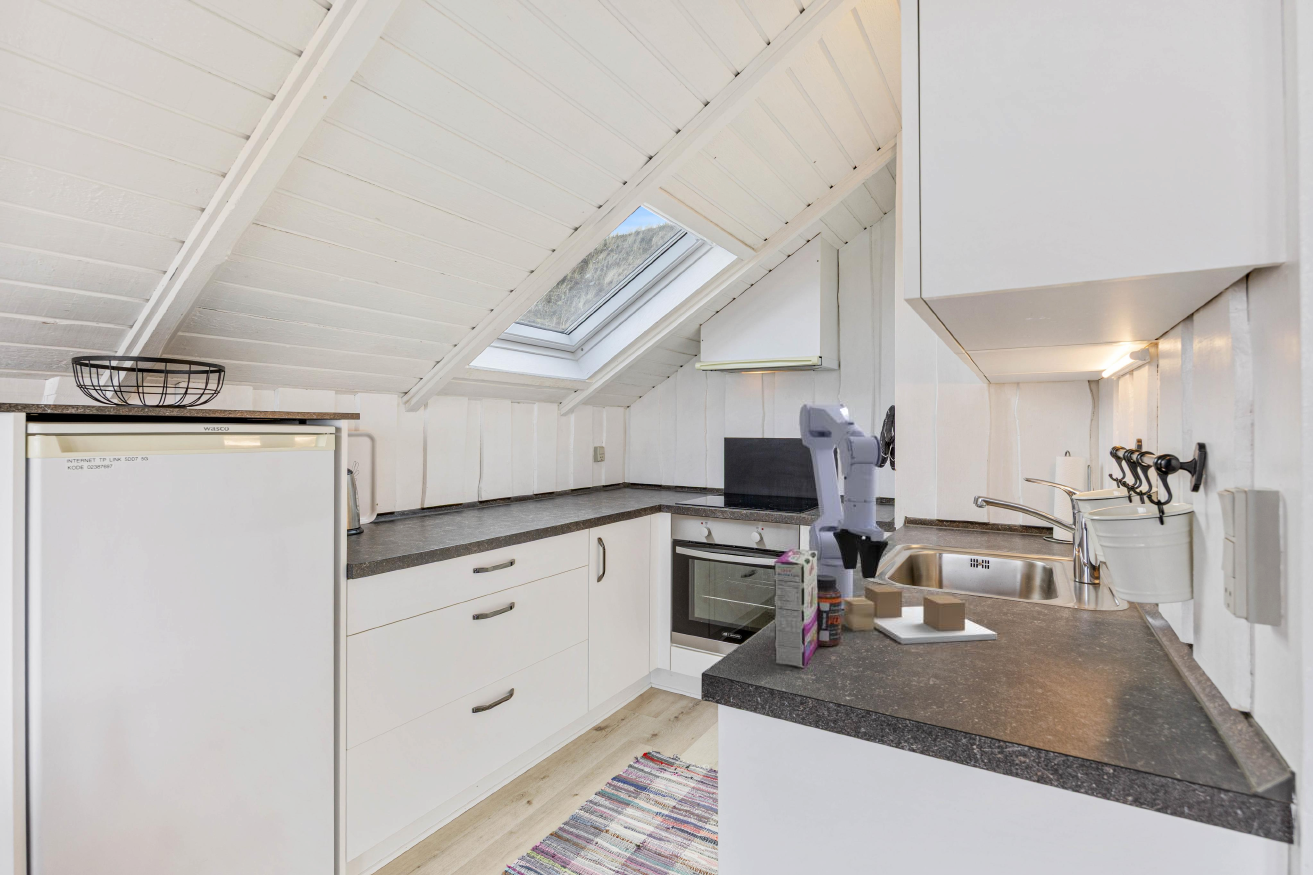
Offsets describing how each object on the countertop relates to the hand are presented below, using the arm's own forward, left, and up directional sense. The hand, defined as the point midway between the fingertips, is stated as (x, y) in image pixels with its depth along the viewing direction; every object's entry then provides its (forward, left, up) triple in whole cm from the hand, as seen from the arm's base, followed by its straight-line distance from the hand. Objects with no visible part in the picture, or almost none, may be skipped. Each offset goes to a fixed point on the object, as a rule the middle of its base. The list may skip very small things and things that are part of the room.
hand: (859, 573), depth 119 cm
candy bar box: (+13, -17, -10) cm, 24 cm away
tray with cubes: (+1, +12, -10) cm, 16 cm away
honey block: (0, 0, -10) cm, 10 cm away
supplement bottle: (+7, -10, -10) cm, 16 cm away
